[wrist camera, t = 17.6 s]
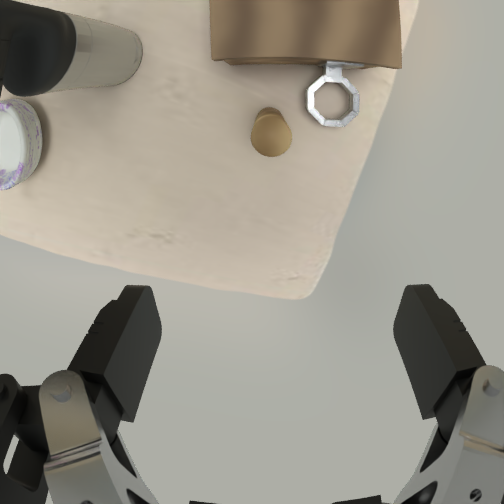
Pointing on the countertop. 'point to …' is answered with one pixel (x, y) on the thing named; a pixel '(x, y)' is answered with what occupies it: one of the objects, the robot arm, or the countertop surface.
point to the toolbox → (306, 32)
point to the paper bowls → (18, 142)
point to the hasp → (334, 74)
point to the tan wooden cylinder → (270, 133)
